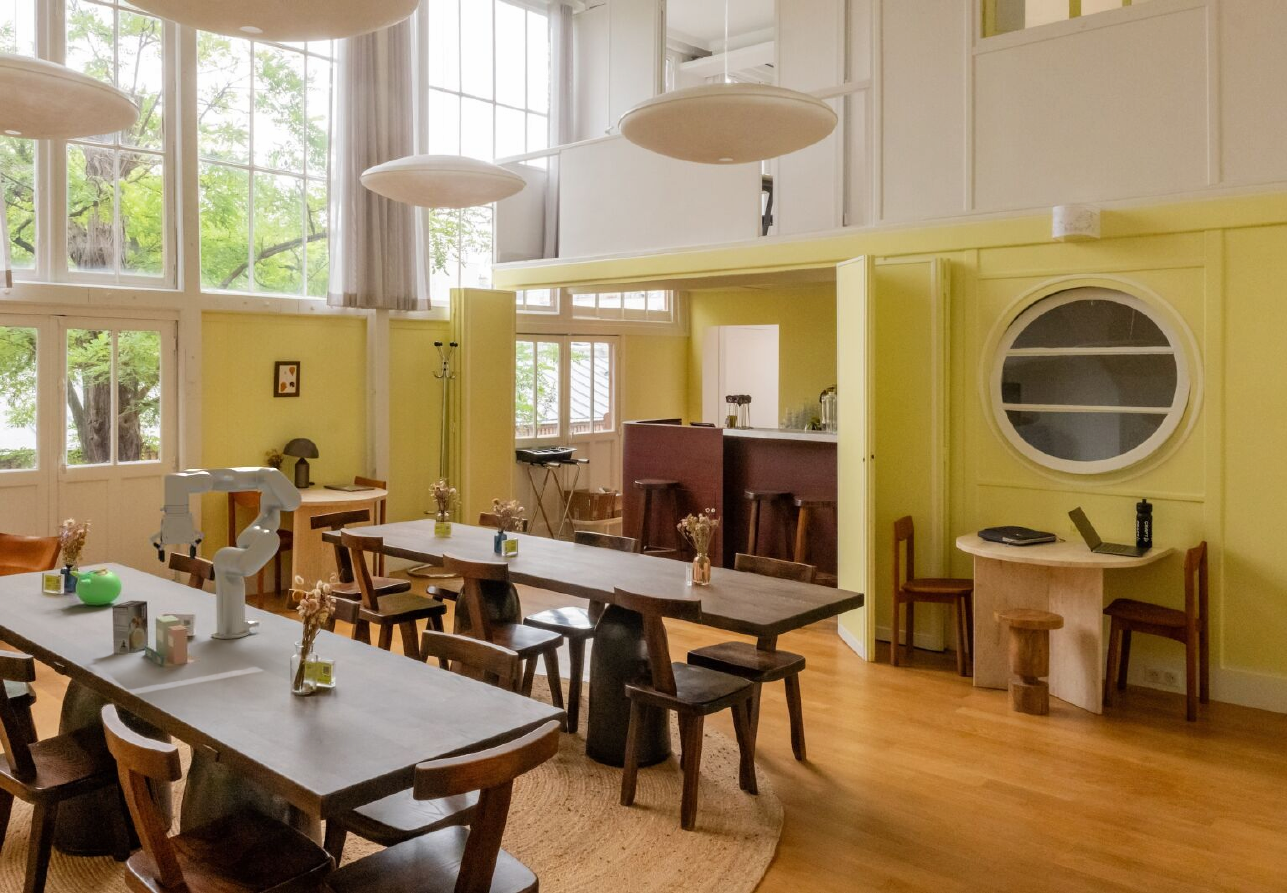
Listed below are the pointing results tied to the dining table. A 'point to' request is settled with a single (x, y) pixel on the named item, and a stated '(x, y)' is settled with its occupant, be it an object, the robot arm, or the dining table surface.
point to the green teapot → (97, 586)
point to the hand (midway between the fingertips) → (177, 560)
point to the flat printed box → (160, 659)
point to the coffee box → (130, 627)
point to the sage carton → (164, 633)
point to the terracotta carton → (177, 645)
